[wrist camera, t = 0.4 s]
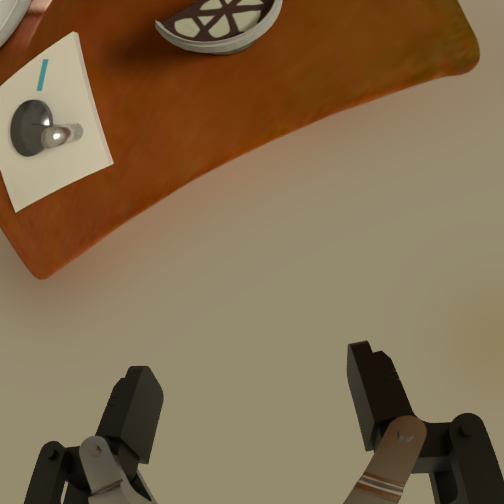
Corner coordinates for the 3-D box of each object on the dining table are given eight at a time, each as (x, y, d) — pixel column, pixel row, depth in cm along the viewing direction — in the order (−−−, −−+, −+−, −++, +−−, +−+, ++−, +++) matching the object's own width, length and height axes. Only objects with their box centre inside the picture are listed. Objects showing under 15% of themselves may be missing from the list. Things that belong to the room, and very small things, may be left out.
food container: (202, 84, 30) (182, 74, 21) (177, 45, 28) (149, 24, 19) (296, 37, 28) (311, 12, 19) (270, -2, 25) (275, -37, 16)
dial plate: (-12, 101, 28) (-17, 102, 27) (77, 32, 26) (72, 31, 25) (19, 209, 37) (15, 212, 36) (113, 163, 34) (109, 165, 33)
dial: (12, 152, 31) (-15, 161, 26) (18, 99, 28) (-10, 102, 22) (79, 163, 33) (53, 174, 27) (88, 102, 29) (61, 103, 24)
